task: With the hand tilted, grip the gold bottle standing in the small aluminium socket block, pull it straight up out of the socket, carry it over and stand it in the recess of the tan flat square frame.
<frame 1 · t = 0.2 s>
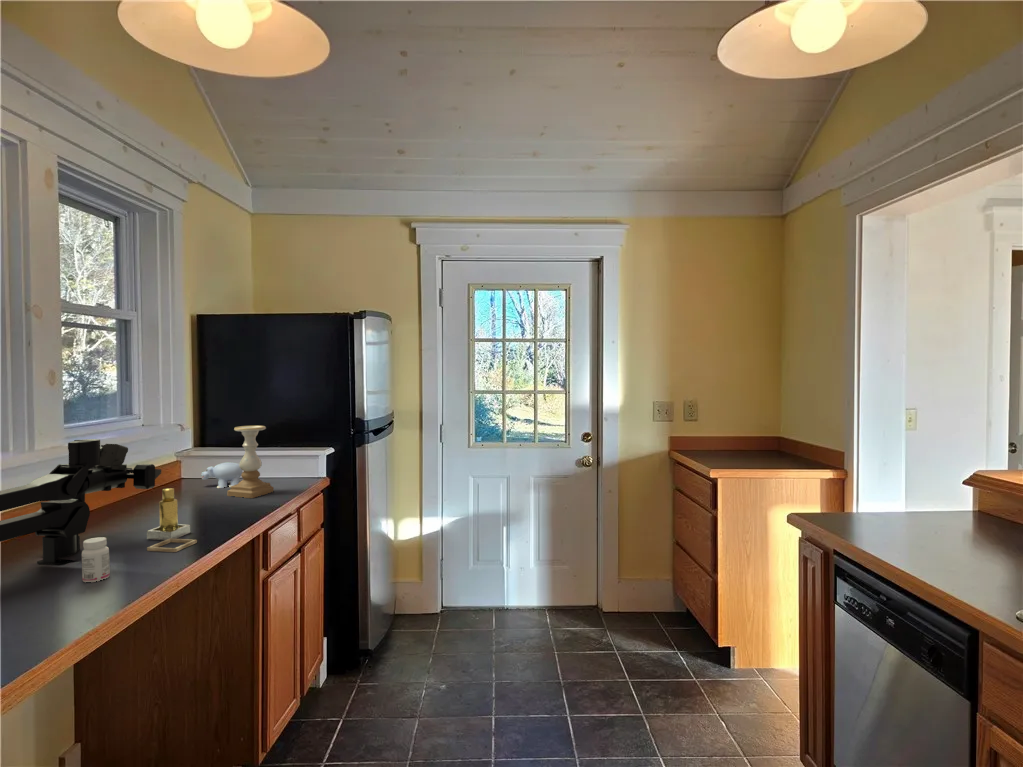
hand: (146, 470, 159), 17 cm above the table, tool horizontal, fingers open, 9 cm apart
hippopotamus toy: (223, 486, 219), on the table
socket: (169, 541, 149), on the table
tan flat square frame: (172, 552, 140), on the table
gold bottle: (169, 535, 149), point 1 cm above the table, touching socket
pill bottle: (96, 579, 123), on the table
candle holder: (250, 494, 204), on the table
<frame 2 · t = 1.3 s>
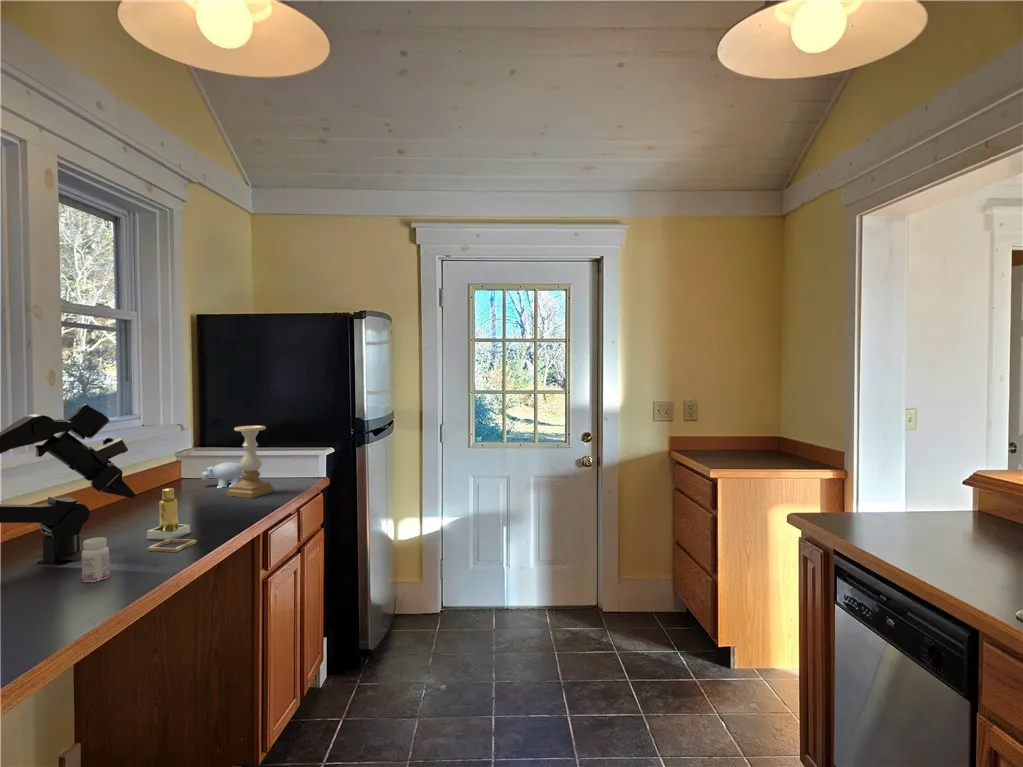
hand: (131, 493, 143), 14 cm above the table, tool tilted 45°, fingers open, 9 cm apart
nothing on the table moved.
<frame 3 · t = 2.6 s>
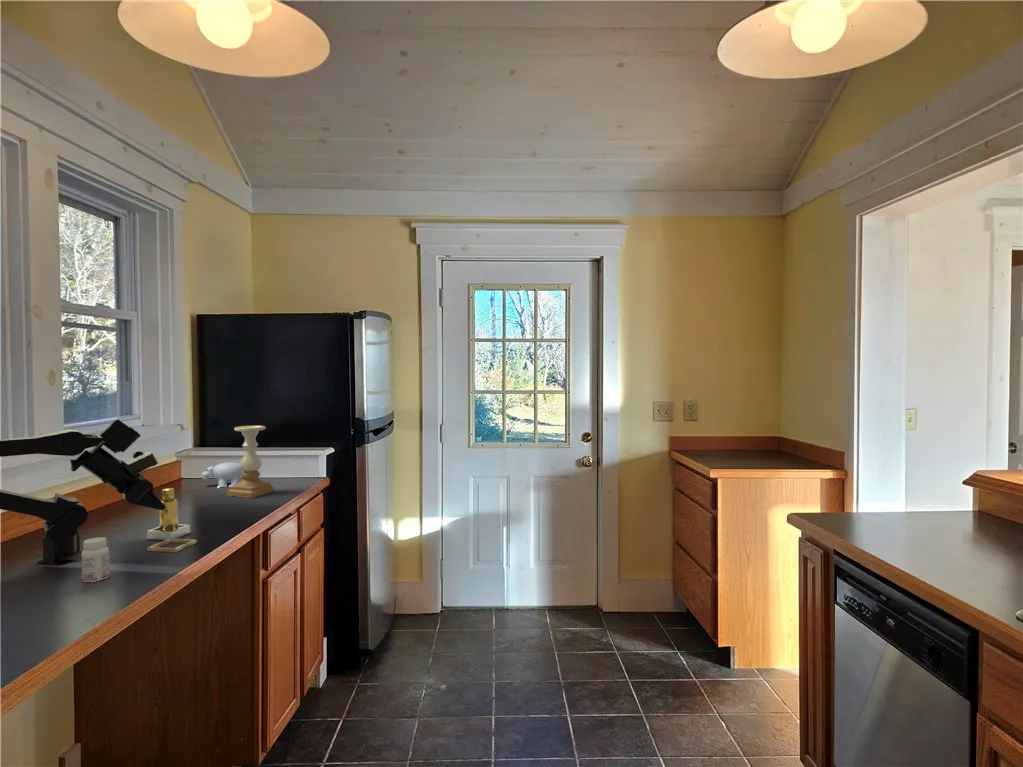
hand: (160, 505, 147), 10 cm above the table, tool tilted 45°, fingers open, 9 cm apart
nothing on the table moved.
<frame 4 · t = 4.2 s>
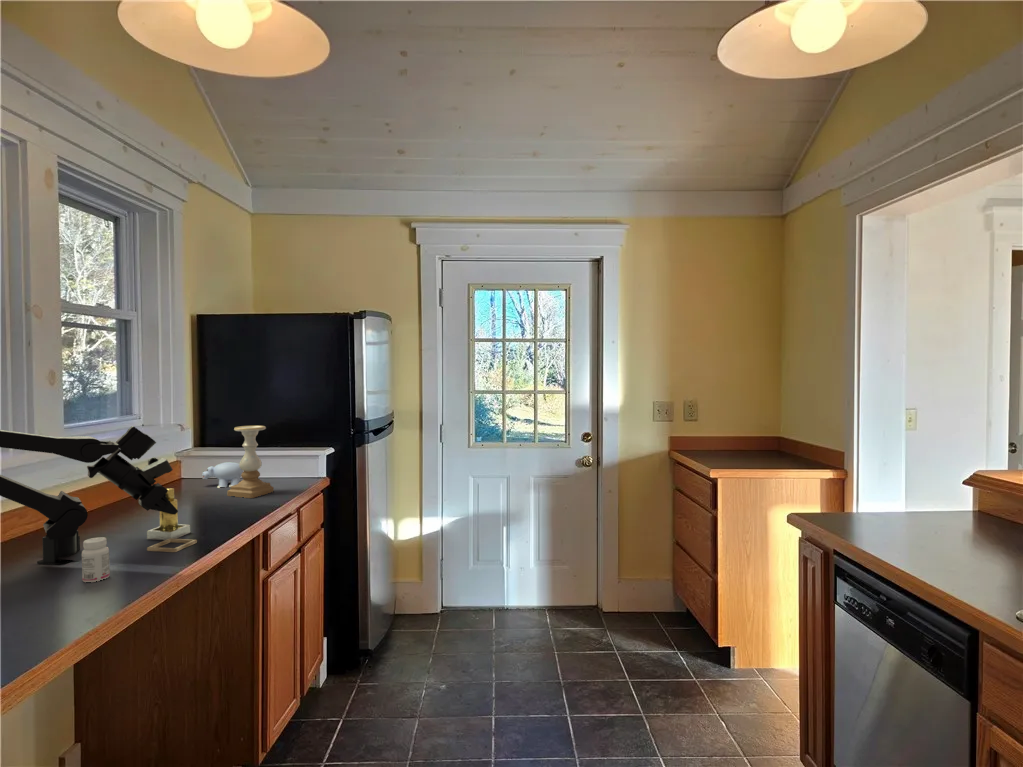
hand: (174, 511, 150), 8 cm above the table, tool tilted 45°, fingers closed on gold bottle, 4 cm apart
gold bottle: (169, 535, 149), point 1 cm above the table, touching gripper, socket
everything else where it was.
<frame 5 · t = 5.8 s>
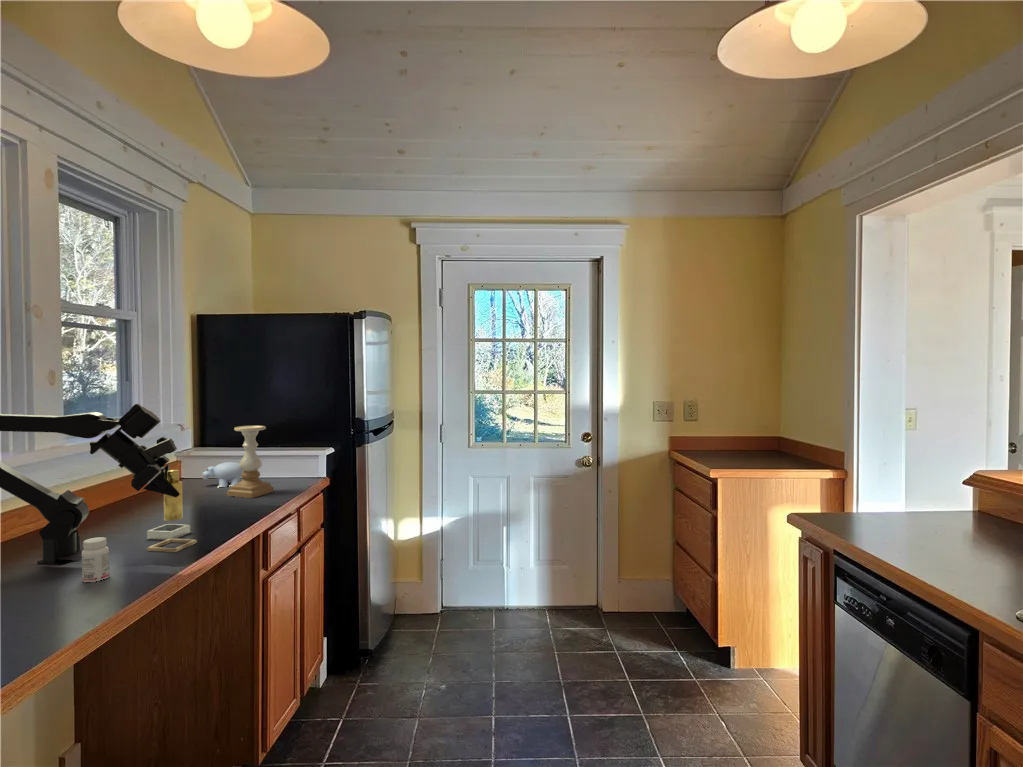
hand: (179, 493, 144), 13 cm above the table, tool tilted 45°, fingers closed on gold bottle, 4 cm apart
gold bottle: (173, 518, 143), point 7 cm above the table, touching gripper
everything else where it was.
when the fingers open (8 cm above the table, at t = 7.6 s): gold bottle drops 1 cm, resting on tan flat square frame.
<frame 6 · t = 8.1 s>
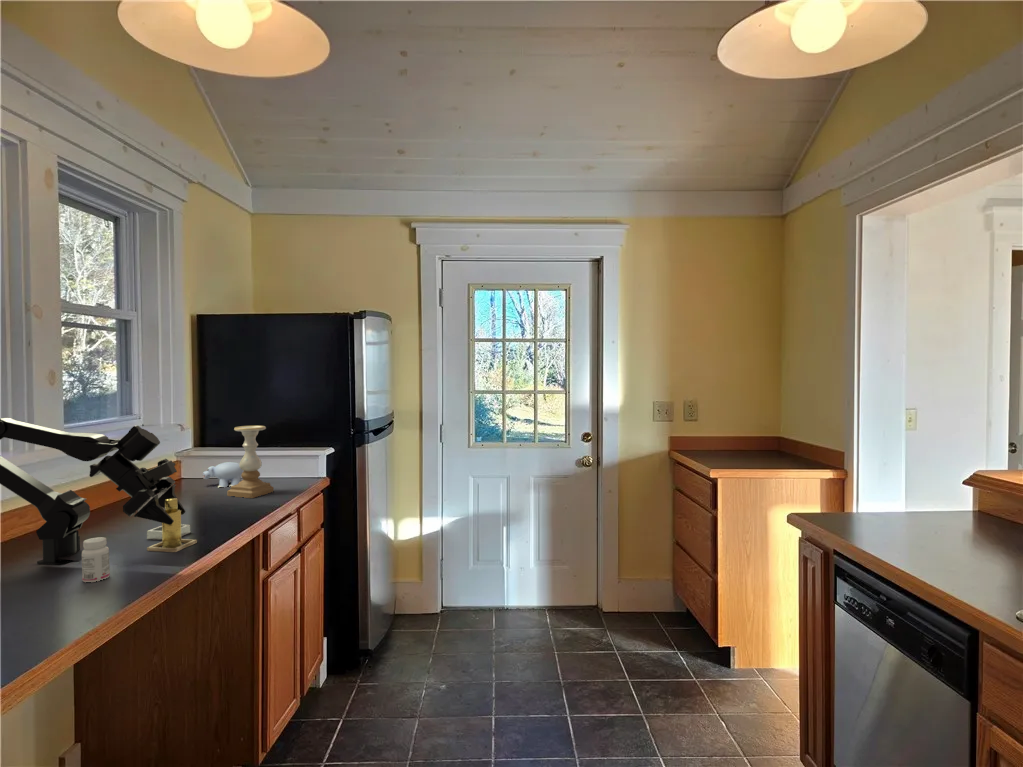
hand: (178, 518, 140), 8 cm above the table, tool tilted 45°, fingers open, 9 cm apart
gold bottle: (171, 548, 140), point 1 cm above the table, touching tan flat square frame
everything else where it was.
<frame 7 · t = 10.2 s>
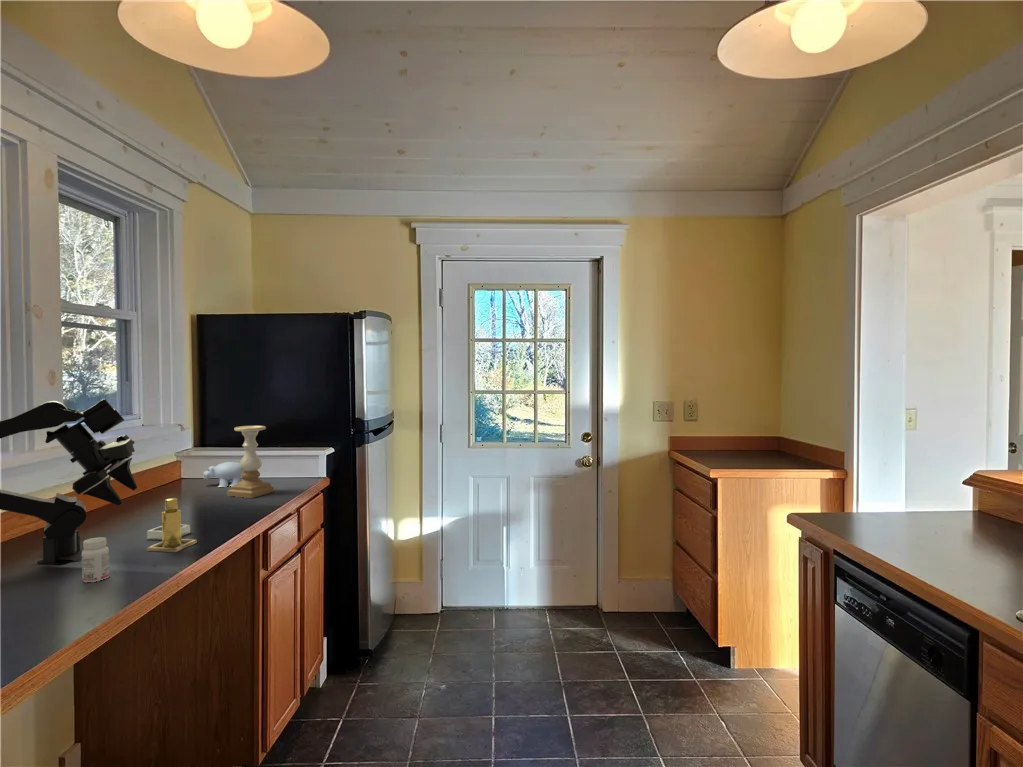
hand: (128, 496, 141), 13 cm above the table, tool tilted 35°, fingers open, 9 cm apart
nothing on the table moved.
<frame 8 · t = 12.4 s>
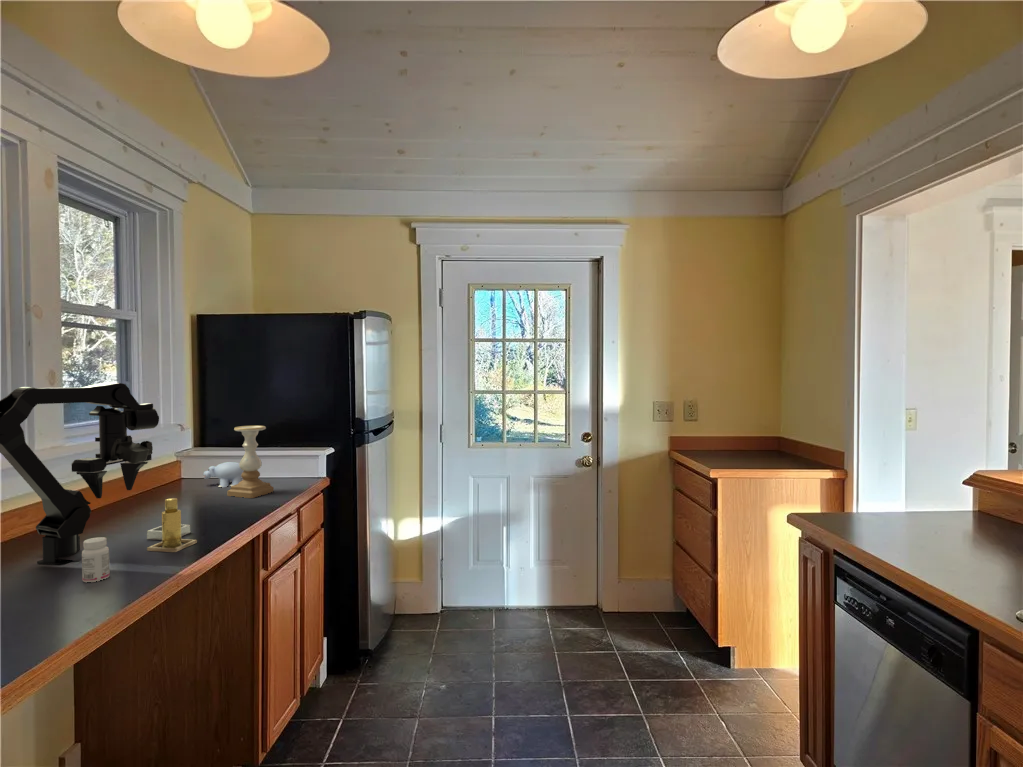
hand: (114, 494, 145), 13 cm above the table, tool pointing down, fingers open, 9 cm apart
at the end: gold bottle 0.1 cm off-centre on the tan flat square frame, point 1.0 cm above the tan flat square frame's base; gold bottle tilted 0°; the gripper is holding nothing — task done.
